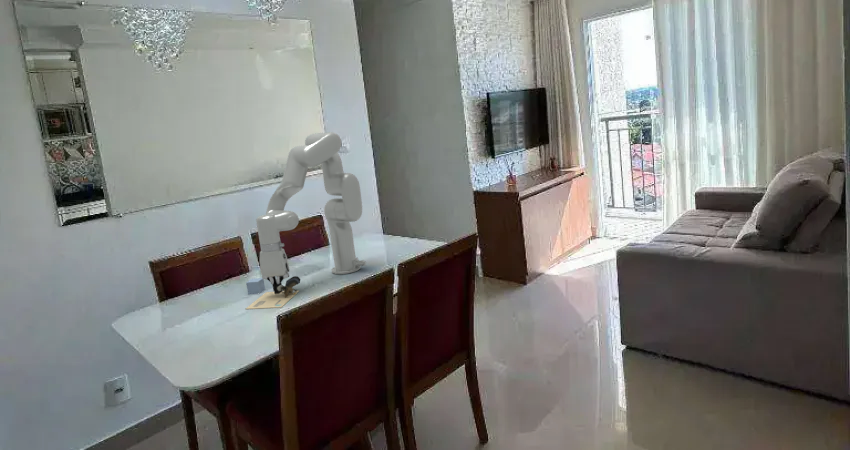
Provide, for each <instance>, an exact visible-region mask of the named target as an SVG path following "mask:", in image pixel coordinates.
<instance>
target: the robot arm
mask: <svg viewBox="0 0 850 450" xmlns="http://www.w3.org/2000/svg"><path fill="white" fill-rule="evenodd" d="M304 143H305V145H297V146H293V147H292V148H291V149H290V150H289V152H288V155H287V159H286V164H285V168H284V171H283V175H282V180H281V182H280V184H279V186H278V187H277V188H276V189H275V191H274V192H273V194H272V195H271V197H270V199H269V201H268V204H267V207H266V213H265V214H262V215H259V216H257V218H256V219H255V221H256V228H257V234H258V239H259V246H260V251H259V268H260V274H261V278H262V279H263V280H266V281H268V282H270V284H271V285H272V290H273V291H272V292H275V294H279V293H281V292H282V291H278V290H277V287H278V286H280V285H283V284H282V282H283V281H284V280H285V279H289V277H290V273H289V272H290V265H289V264H290V263H289V260H288V255H287V254H286V252H285V249H284V248H283V247H285V243H284V242H283V243H282V241H281V238H280V237H281V235H280V232H287V231H292V230H294V229H295V228H296V227H297V226H298V224H299V223H300V222H299V221H300V220H299V216H298V215H297V213H296V212H294V211H291V210H284V209H285V207H286V204H287V203H288V201H289V200H290V199H291V198H292V197H293V196H294V195H296V194H298V193H299V192H300V191H302V190H303V189H304V187H305V182H306V178H307V174H308V170H309V168H315V167H318V166H320V165H321V170H322V176H323V184H324V186H323V187H324V190H325V192H326V193H327V194H328V195H330V196H334V198H332V199H329V200H328V201H326V203H325V205H324V207H323V208H324V216H325V219H326V222H327V225H328V228H329V236H330V237H329V238H330V243H331V249H332V256H333V264H334V267H332V268H331V273H332V274H335V275H346V274H352V273H355V272H357V271H359V270H361V267H363V266H366V265H367V262H366V261H365V260H364V259H362V260H359V258H358V257H357V256H356V249H355V240H354V236H353V235H354V233H353V228H352V226H351V222H352V223H353V222H354V223H355V222H357V221H359V220H360V219H361V217H362V215H363V202H362V193H361V185H360V181H359V179H358V178H357V176H356V175H355V174H353V173H350V172H344V167H343V162H342V159H341V155H340V154H339V151H340V149H341V147H342V138H341V137H340V136H339V135H338V134H337V133H335V132H333V131H332V132H330V131H329V132H316V133H311V134H309V135H307V136H306V137H305V141H304ZM335 196H337V197H338V198H337V197H336V198H335ZM340 196H341V198H339V197H340Z"/></svg>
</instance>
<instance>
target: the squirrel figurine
mask: <svg viewBox="0 0 850 450" xmlns="http://www.w3.org/2000/svg"><path fill="white" fill-rule="evenodd" d="M301 280H302V279H301V278H300V277H299V276H297V275H295V276H291V277H290V278H288V279H287V280H286V281H285V286H284V285H283V284H282V285H280V286H278V287H277V290H278V291H284V292H282V293H284V294H285V298H286V297H287V296H288V292H291V293H294V294H296V293H295V291H296V289H294V287H296V286H297V285H299V284H300V283H301ZM296 295H297V294H296Z"/></svg>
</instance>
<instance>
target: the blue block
mask: <svg viewBox="0 0 850 450" xmlns="http://www.w3.org/2000/svg"><path fill="white" fill-rule="evenodd" d="M245 284H246V291H247V294H248V295H259V294H262V293H263V292H264V291H265V290H266V286H265V279H262V277H256V278H255V277H254V278H250V279H249V280H248V281H246V282H245ZM262 291H263V292H262ZM258 293H259V294H258Z"/></svg>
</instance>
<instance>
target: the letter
mask: <svg viewBox="0 0 850 450" xmlns="http://www.w3.org/2000/svg"><path fill="white" fill-rule="evenodd" d="M294 291H295V293H296V294H294V293H291V292H288V296H287V297H286V298H285V294H284V293H282V292H284V291H282V292H281V293H279V294H275V292H274V291H266V292H264V293H263V294H262V295H260V296H259V297H258V298H257V299H255V301H253V302H252V303H251V304H249V305H248V306H247V307H246V308H245V310H258V309H280V308H283V307H284V306H285V305H286V304H287V303H288V302H290V301H291V300H292V298H293V297H295V296H296V295H297V294H298V293H299V292H300V290H298V289H295V290H294Z"/></svg>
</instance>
